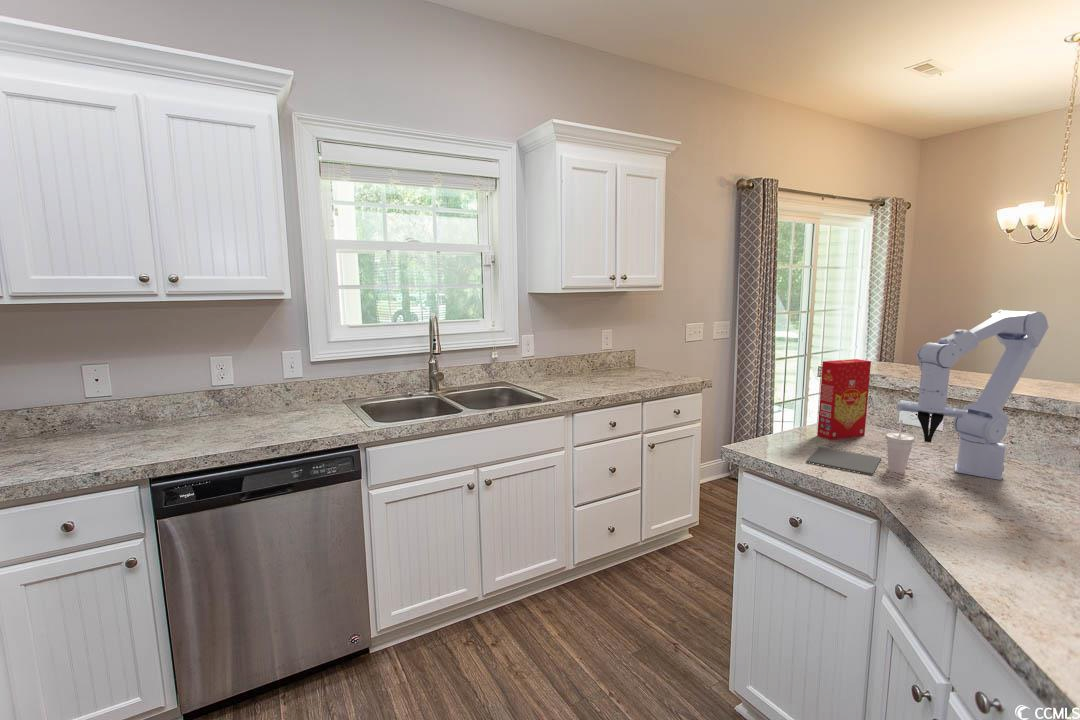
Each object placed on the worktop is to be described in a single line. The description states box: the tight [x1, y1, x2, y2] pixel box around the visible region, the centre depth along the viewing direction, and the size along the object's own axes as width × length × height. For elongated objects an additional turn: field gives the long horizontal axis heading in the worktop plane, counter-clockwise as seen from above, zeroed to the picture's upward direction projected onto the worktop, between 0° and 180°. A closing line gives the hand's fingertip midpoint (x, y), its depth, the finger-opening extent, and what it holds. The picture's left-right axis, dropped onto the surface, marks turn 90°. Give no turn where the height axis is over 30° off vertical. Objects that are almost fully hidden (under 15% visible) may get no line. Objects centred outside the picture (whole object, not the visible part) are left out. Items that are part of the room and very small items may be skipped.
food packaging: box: [816, 358, 872, 441], centre depth 171 cm, size 15×5×25 cm, turn 109°
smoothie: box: [885, 419, 915, 474], centre depth 139 cm, size 6×6×14 cm
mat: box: [805, 446, 882, 476], centre depth 148 cm, size 16×16×1 cm
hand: (927, 441), depth 135 cm, fingers closed
